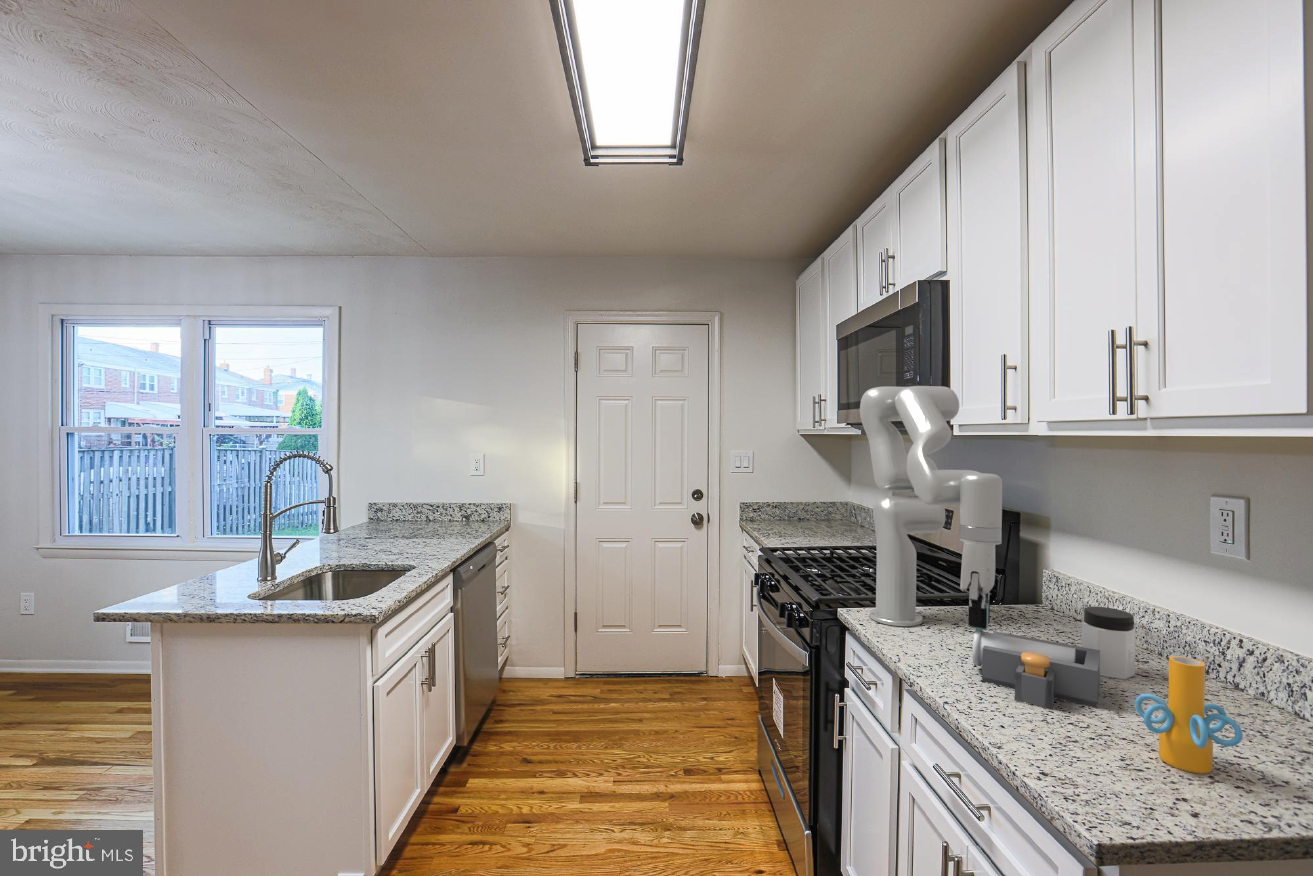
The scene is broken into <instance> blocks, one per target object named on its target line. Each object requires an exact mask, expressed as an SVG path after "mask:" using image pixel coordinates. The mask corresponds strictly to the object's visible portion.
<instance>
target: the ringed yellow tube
mask: <svg viewBox="0 0 1313 876" xmlns="http://www.w3.org/2000/svg"><path fill="white" fill-rule="evenodd" d="M1167 696H1168V697H1167V703H1166V702H1165V701H1164V700H1163V699H1162V698H1161V697H1159V696H1157V695H1155V694H1153V693H1143V694H1140V695H1138V696H1137V697H1136V699H1135V700H1134V705H1135V706H1134V707H1135V709H1136V712H1137V714H1138V715H1139V716H1140V717H1141V718H1142V719H1143V722H1144V724H1145V727H1146V728H1147V729H1148V730H1149V731H1150V732H1152V733H1154V734H1158V755H1159V758H1160V760H1162V762H1164V763H1165V764H1167V765H1169V766H1170V767H1174V768H1176V769H1177V770H1182V771H1184V770H1185V771H1186V772H1189V773H1194V774H1208V773H1211V772H1212V771H1213V767H1214V766H1213V764H1214V763H1213V762H1214V759H1213V758H1214V743H1216V744H1219V745H1221V746H1225V747H1235V746H1237V745H1239V744H1240V743H1241V742H1242V740H1243V738H1244V737H1243V736H1244V733H1243V730H1242V728H1241V726H1240V724H1239V723H1238V722H1236V721H1235V720H1234V719H1233V718H1231V717H1230V716H1228V715H1227V713H1226V711H1225V710H1224V708H1223V707H1222V706H1221V705H1218V704H1216V703H1206V702H1205V701H1206V700H1205V699H1206V698H1205V697H1206V663H1205V662H1203V661H1202V660H1200V659H1197V658H1196V659H1195V658H1192V657H1188V656H1187V657H1186V656H1183V655H1182V656H1179V655H1171V656H1169V658H1168V695H1167ZM1145 700H1152V701H1154V702H1156V703H1155V704H1152V705H1150V706H1148V707H1147V709H1146V710H1145V711H1144V709H1143V707H1142V703H1143V701H1145ZM1205 703H1206V704H1205ZM1160 710H1161V711H1162V712H1163V713H1162V715H1161V716H1160V717H1154V716H1153V714H1154V713H1155V712H1156V711H1160ZM1210 710H1215V711H1216V712H1217V713H1210V714H1207V713H1208V712H1209V711H1210ZM1206 714H1207V715H1206ZM1152 716H1153V717H1152ZM1216 720H1218V723H1217V724H1216V725H1214V726H1210V725H1211V723H1212V722H1213V721H1216ZM1227 723H1228V724H1229V725H1230V726H1231V727H1232V728H1233V730H1234V736H1233V738H1232V739H1222V738H1221V737H1218V736H1216V733H1220V732H1221V731H1222V730H1224V728H1225V726H1226V724H1227ZM1153 724H1159V725H1160V724H1161V726H1159V727H1156V726H1154V725H1153Z"/></svg>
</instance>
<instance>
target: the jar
mask: <svg viewBox="0 0 1313 876" xmlns="http://www.w3.org/2000/svg"><path fill="white" fill-rule="evenodd" d="M1134 617H1135V616H1134V615H1133V614H1132V613H1130V612H1128V611H1125V610H1121V609H1117V608H1111V607H1104V606H1087V607H1085V608H1084V609H1083V621H1081V627H1080V628H1081V629H1080V630H1081V631H1080V632H1081V634H1080V635H1081V637H1080V641H1081V642H1080V643H1081V644H1080V647H1084V648H1090V649H1095V650H1100V677H1104V678H1111V679H1112V678H1113V679H1117V680H1118V679H1119V680H1124V681H1125V680H1128V679H1130V678H1131V677H1133V676H1135V675H1136V643H1137V638H1136V637H1137V634H1136V633H1137V629H1136V627H1134V626H1135V620H1134V619H1135V618H1134Z"/></svg>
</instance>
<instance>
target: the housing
mask: <svg viewBox="0 0 1313 876" xmlns="http://www.w3.org/2000/svg"><path fill="white" fill-rule="evenodd" d="M992 633H993V634H999V635H1004V636H1009V637H1015V638H1020V639H1026V640H1031V641H1036V642H1042V643H1047V644H1053V645H1058V646H1064V647H1069V648H1074V649H1075V651H1076V663H1072V662H1067V661H1061V660H1056V659H1051V658H1050V667H1047V668H1045V677H1041V676H1036V675H1032V674H1027V673H1025V664H1024V663H1022V662H1021V654H1022V653H1021V652H1016V651H1010V650H1005V649H1000V648H995V647H990V646H985V645H984V647H983V651H982V665H981V682H982V681H985V682H988V683H987V684H989V683H994V684H996V685H995V686H998V685H1002V686H1001V687H1003V686H1005V687H1004V688H1007V687H1010V688H1009V689H1011V688H1013V689H1012V690H1014V701H1015V700H1017V701H1016V702H1018V701H1021V702H1020V703H1023V702H1026V703H1025V704H1027V703H1028V705H1031V704H1033V705H1032V706H1035V705H1036V706H1035V707H1039V706H1042V707H1041V708H1044V709H1048V710H1053V706H1054V703H1053V702H1055V700H1059V701H1060V700H1061V701H1064V700H1065V701H1064V702H1068V701H1069V703H1072V702H1074V703H1073V704H1077V705H1081V704H1082V705H1081V706H1087V707H1091V708H1095V709H1097V707H1098V701H1099V693H1100V684H1101V683H1100V682H1101V681H1100V679H1101V676H1100V650H1095V649H1090V648H1084V647H1081V646H1079V645H1074V644H1067V643H1061V642H1057V641H1056V642H1055V641H1050V640H1046V639H1041V638H1040V639H1039V638H1034V637H1029V636H1022V635H1019V634H1018V635H1017V634H1013V633H1007V632H1001V631H996V630H994V631H993V632H992ZM985 682H984V683H985ZM994 684H993V685H994ZM1055 698H1057V699H1055Z"/></svg>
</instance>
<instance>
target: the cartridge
mask: <svg viewBox="0 0 1313 876" xmlns="http://www.w3.org/2000/svg"><path fill="white" fill-rule="evenodd" d="M989 605H990V602H989V603H985V608H987V627H986V628H985V629H983V628H977V627H972V626H969V628H971V629H975V630H974V634H973V639H972V647H971V648H972V650H971V651H972V653H971V654H972V655H971V656H972V663H973V665H974V666H977V667H982V651H983V647H984V645H985V646H990V647H995V648H1000V649H1005V650H1010V651H1016V652H1021V653H1024V652H1033V653H1039V654H1043V655H1045V656H1047V657H1049V658H1051V659H1056V660H1061V661H1067V662H1072V663H1076V651H1075V649H1074V648H1069V647H1064V646H1058V645H1053V644H1047V643H1042V642H1036V641H1031V640H1026V639H1020V638H1015V637H1009V636H1004V635H999V634H993V632H986V631H987V630H988V629H989V624H988V618H989Z"/></svg>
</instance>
